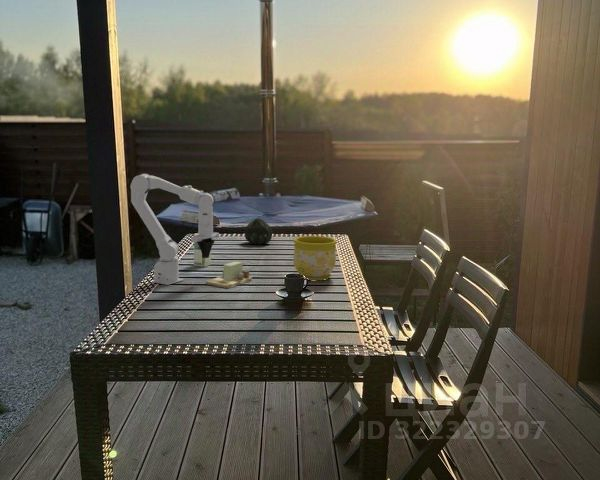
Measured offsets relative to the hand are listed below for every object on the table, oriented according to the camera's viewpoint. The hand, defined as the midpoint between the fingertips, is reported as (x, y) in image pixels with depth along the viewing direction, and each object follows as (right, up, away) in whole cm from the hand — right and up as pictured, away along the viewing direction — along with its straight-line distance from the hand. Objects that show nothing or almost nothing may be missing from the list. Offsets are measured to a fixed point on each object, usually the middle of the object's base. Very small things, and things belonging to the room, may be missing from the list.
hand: (205, 257), depth 235 cm
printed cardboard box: (-6, -5, +30) cm, 31 cm away
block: (+11, -8, +4) cm, 14 cm away
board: (+9, -10, +2) cm, 14 cm away
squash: (+15, +5, +86) cm, 87 cm away
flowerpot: (+44, -9, +13) cm, 46 cm away
